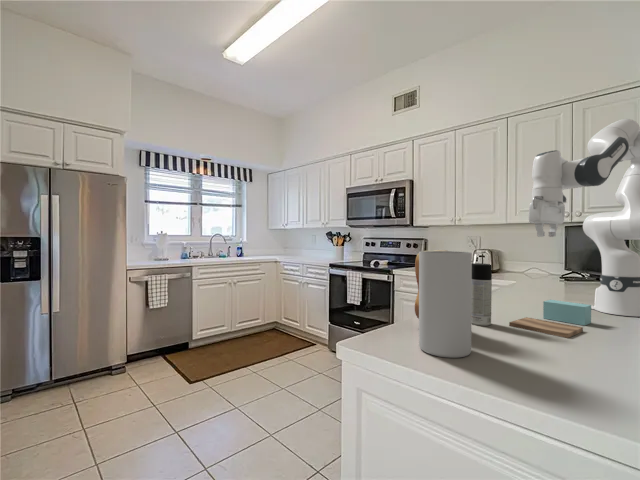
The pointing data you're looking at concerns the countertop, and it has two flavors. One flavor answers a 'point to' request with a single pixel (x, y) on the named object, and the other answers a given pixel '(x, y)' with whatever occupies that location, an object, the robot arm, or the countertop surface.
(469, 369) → the countertop surface
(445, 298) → the cylinder vase
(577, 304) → the pale blue tall prism
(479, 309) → the spray can
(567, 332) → the board
